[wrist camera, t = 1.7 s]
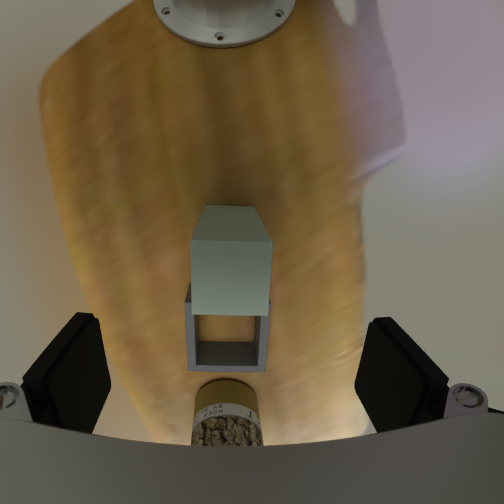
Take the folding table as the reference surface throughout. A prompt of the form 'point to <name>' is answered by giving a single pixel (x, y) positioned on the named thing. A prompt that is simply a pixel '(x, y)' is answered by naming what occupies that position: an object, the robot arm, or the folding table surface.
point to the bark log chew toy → (226, 416)
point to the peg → (230, 262)
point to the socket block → (225, 347)
